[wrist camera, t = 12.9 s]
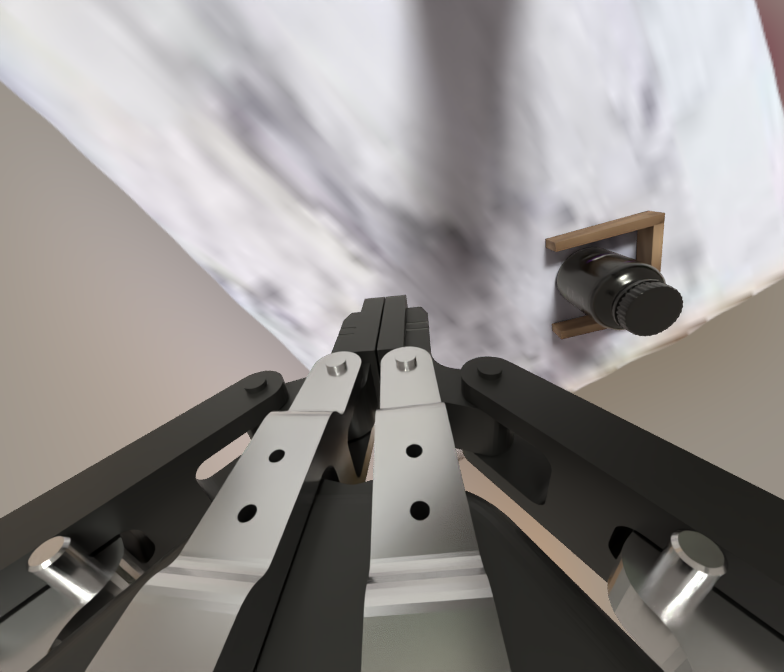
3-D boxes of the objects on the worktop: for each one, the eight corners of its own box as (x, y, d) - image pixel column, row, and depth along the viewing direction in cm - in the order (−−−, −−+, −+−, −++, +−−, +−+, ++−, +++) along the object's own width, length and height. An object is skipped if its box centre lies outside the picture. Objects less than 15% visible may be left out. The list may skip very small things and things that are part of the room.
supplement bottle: (595, 233, 36) (678, 255, 26) (623, 275, 39) (712, 313, 28) (542, 274, 39) (599, 311, 28) (572, 312, 41) (636, 360, 30)
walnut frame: (545, 238, 37) (555, 242, 35) (647, 210, 35) (664, 212, 33) (552, 330, 42) (561, 339, 40) (642, 309, 40) (656, 316, 38)
